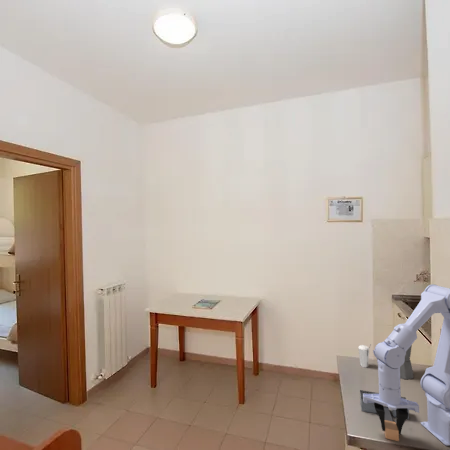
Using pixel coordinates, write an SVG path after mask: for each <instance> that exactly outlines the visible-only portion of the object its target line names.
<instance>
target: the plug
mask: <svg viewBox="0 0 450 450" xmlns="http://www.w3.org/2000/svg"><path fill="white" fill-rule="evenodd" d="M383 407H384V411H385V431H383V434H384V437H385V439H387V440H391V441H396V442H400V436H399V435H400V434H399V431H398V428H397V425H396V421H394V420H393V416H392V414H391V410H390V409H389V408H388V407H387V406H384V405H383Z"/></svg>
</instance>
